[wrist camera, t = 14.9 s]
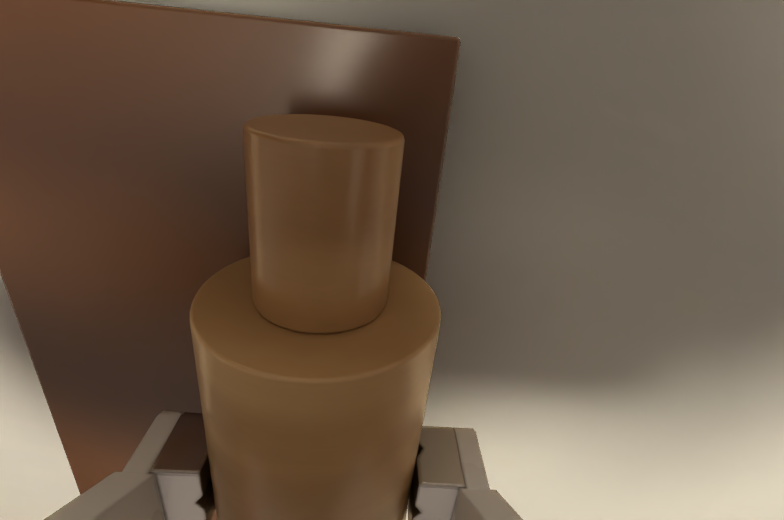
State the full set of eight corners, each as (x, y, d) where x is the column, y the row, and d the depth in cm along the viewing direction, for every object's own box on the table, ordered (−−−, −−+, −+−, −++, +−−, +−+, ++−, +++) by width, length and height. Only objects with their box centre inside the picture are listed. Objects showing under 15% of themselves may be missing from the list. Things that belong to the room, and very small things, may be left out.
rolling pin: (237, 97, 8) (76, 135, 4) (458, 121, 8) (494, 182, 4) (265, 545, 15) (210, 720, 11) (388, 559, 15) (377, 741, 11)
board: (-34, -13, 9) (-111, -24, 7) (450, 39, 9) (462, 37, 8) (128, 527, 17) (106, 569, 15) (382, 537, 17) (382, 578, 16)
